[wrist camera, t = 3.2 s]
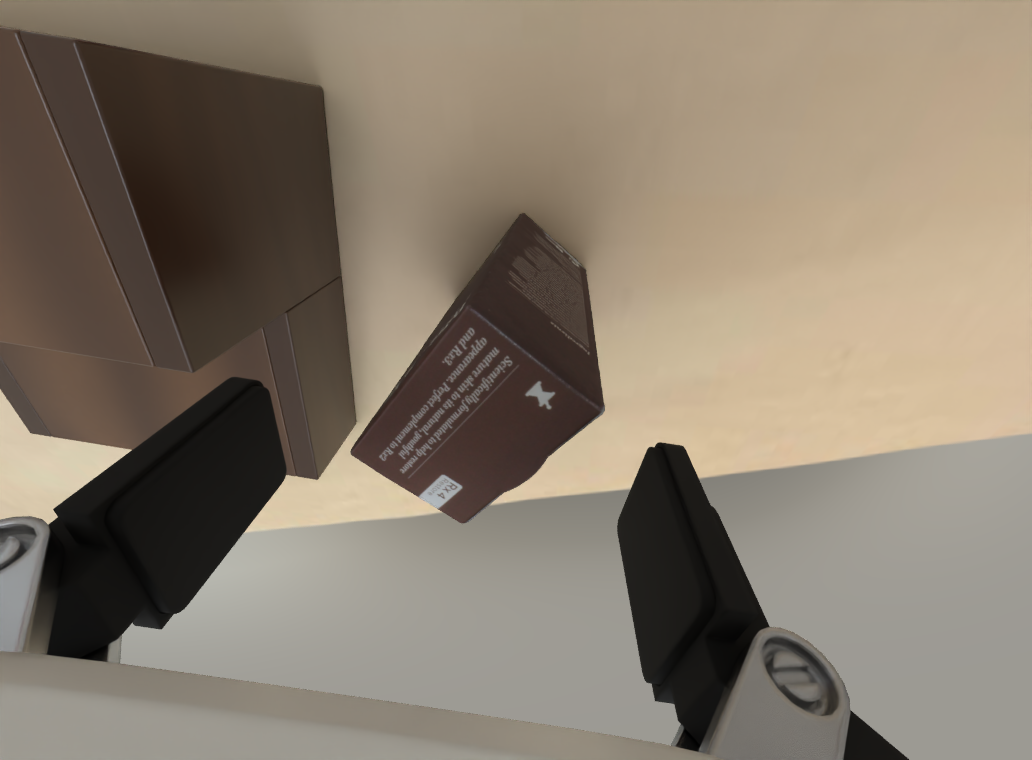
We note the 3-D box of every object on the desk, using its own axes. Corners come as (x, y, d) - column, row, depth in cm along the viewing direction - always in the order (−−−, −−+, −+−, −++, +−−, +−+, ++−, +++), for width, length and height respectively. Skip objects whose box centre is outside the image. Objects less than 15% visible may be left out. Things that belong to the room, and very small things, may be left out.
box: (517, 205, 18) (467, 299, 8) (588, 269, 19) (623, 420, 9) (445, 300, 21) (339, 459, 11) (511, 351, 22) (473, 536, 12)
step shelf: (322, 86, 16) (74, 38, 8) (356, 424, 26) (260, 564, 18) (-61, 23, 16) (-723, -94, 8) (115, 384, 26) (-97, 506, 18)
